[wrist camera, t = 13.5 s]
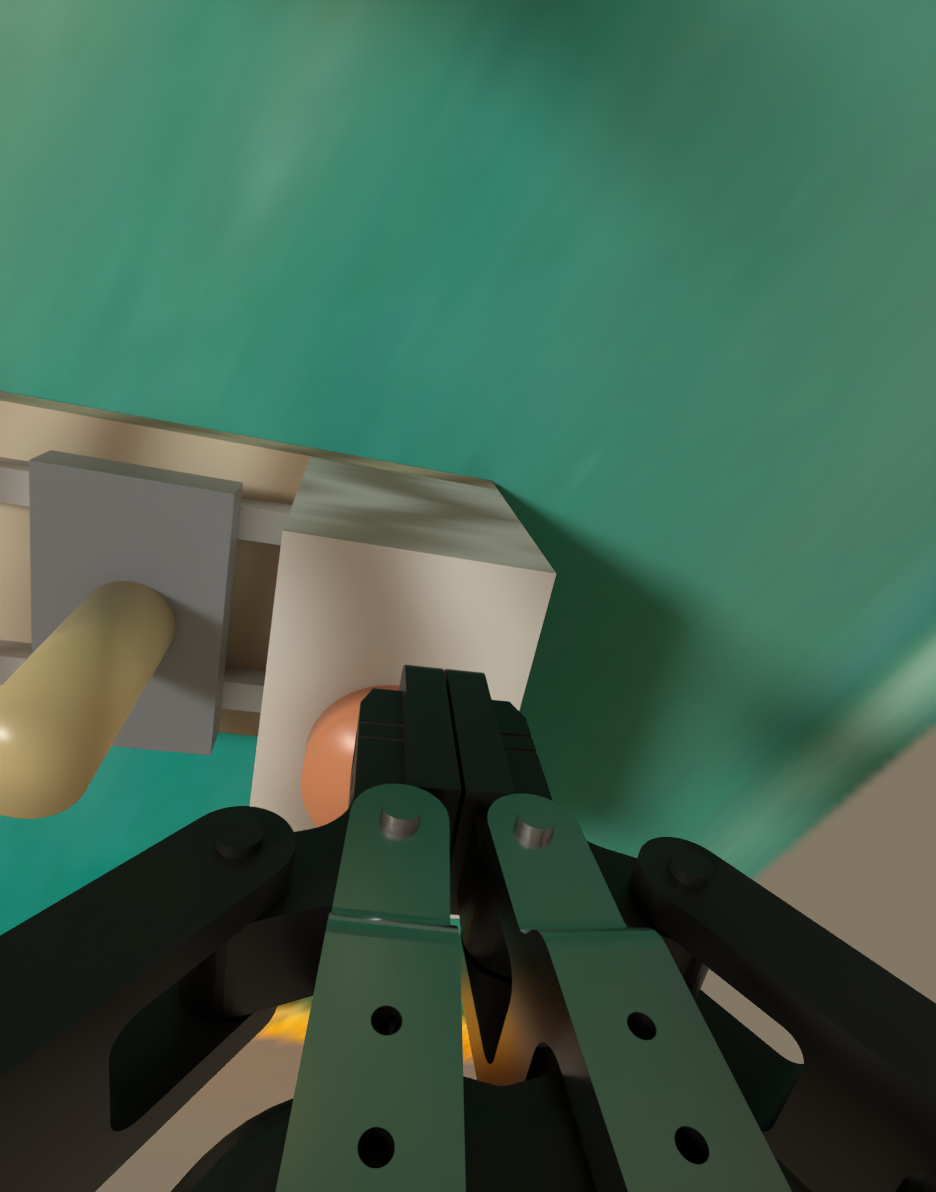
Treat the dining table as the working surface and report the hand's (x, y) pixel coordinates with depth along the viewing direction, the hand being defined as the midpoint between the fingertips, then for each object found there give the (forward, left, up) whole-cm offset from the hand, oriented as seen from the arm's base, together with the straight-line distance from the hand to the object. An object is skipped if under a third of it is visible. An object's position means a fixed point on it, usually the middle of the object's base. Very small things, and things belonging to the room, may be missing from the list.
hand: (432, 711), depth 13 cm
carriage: (+8, +5, -13) cm, 16 cm away
